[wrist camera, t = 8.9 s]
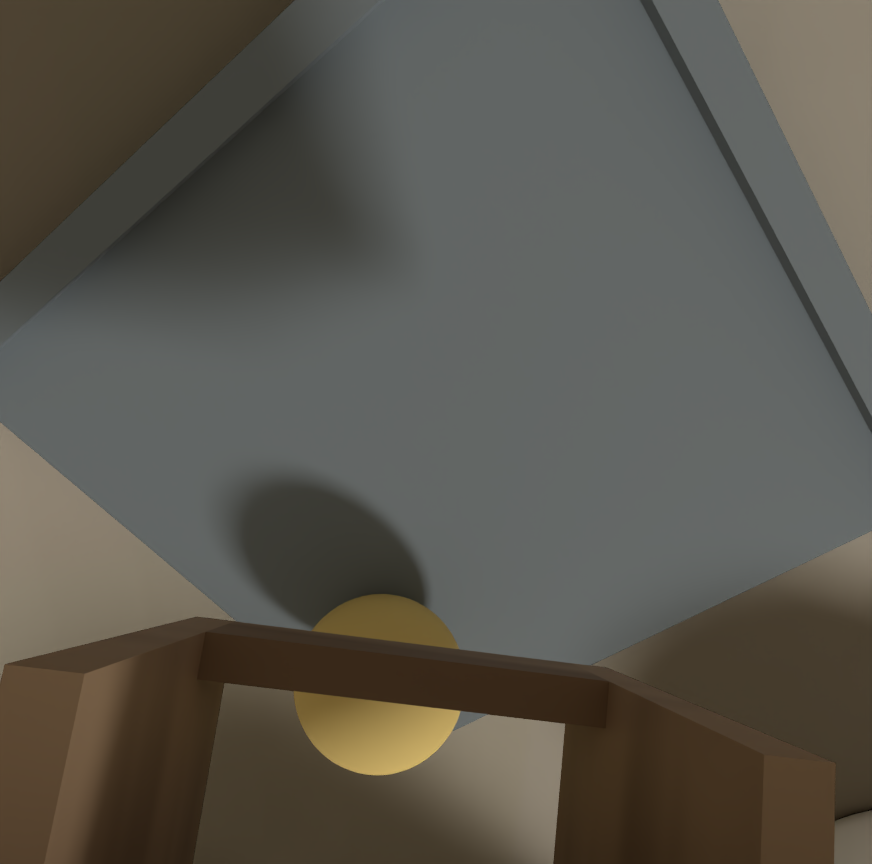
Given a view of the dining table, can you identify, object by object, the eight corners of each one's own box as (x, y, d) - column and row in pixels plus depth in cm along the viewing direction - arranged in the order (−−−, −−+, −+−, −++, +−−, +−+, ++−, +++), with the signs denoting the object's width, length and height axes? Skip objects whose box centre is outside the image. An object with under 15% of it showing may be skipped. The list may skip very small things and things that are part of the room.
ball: (380, 532, 18) (398, 624, 20) (240, 635, 16) (280, 722, 19) (499, 632, 16) (501, 721, 18) (352, 765, 14) (379, 843, 16)
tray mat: (398, 745, 22) (395, 782, 21) (-63, 352, 16) (-99, 376, 15) (938, 484, 17) (970, 515, 16) (570, -248, 11) (583, -276, 10)
